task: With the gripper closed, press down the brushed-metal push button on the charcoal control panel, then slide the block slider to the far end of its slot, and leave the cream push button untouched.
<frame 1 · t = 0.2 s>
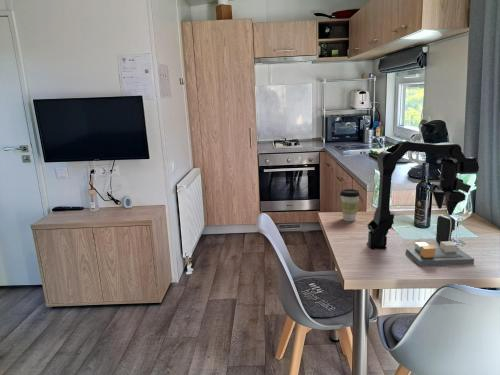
hand: (444, 211, 153), 14 cm above the table, tool pointing down, fingers open, 9 cm apart
block slider: (427, 251, 140), point 4 cm above the table, slide at 0.0 cm
cream button: (447, 247, 146), point 3 cm above the table, slide at 0.0 cm
battery charger: (444, 242, 159), on the table
coffee cup: (349, 219, 193), on the table
grey button: (422, 248, 146), point 3 cm above the table, slide at 0.0 cm
panel: (438, 258, 144), on the table
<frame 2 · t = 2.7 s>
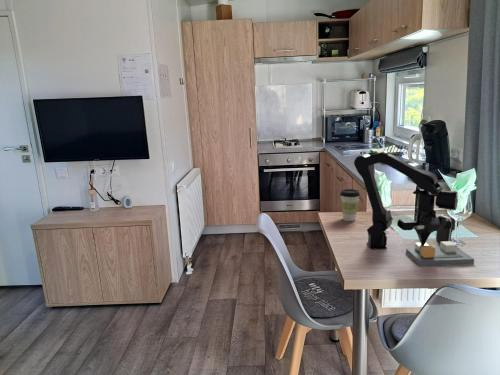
hand: (422, 244, 145), 5 cm above the table, tool pointing down, fingers closed, pressing on grey button
grey button: (422, 248, 146), point 3 cm above the table, slide at 0.2 cm, touching gripper
everything else where it was.
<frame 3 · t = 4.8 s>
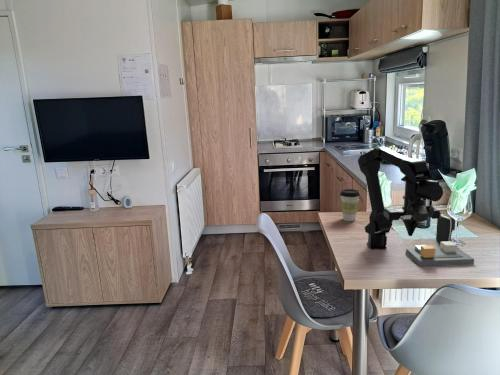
hand: (410, 235, 138), 11 cm above the table, tool pointing down, fingers closed
grey button: (422, 251, 146), point 2 cm above the table, slide at 1.2 cm
everything else where it was.
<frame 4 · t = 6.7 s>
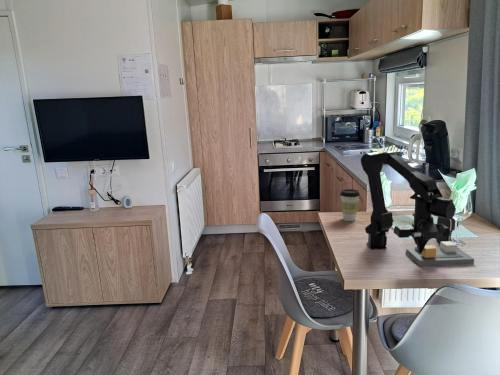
hand: (420, 252, 140), 4 cm above the table, tool pointing down, fingers closed
block slider: (428, 251, 140), point 4 cm above the table, slide at 0.4 cm, touching gripper
everything else where it was.
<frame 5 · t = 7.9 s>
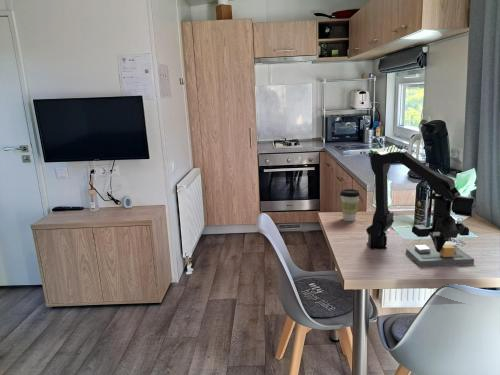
hand: (438, 251, 140), 4 cm above the table, tool pointing down, fingers closed
block slider: (446, 250, 140), point 4 cm above the table, slide at 7.3 cm, touching gripper
everything else where it was.
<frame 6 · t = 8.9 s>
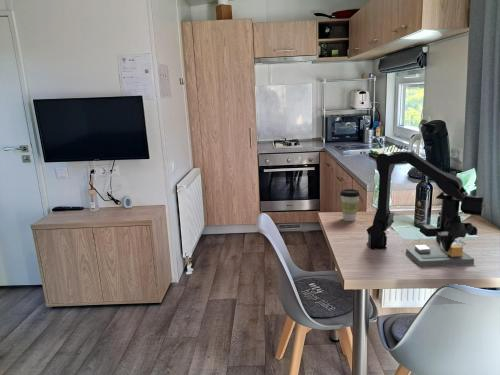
hand: (446, 251, 140), 4 cm above the table, tool pointing down, fingers closed
block slider: (454, 250, 140), point 4 cm above the table, slide at 10.2 cm, touching gripper
everything else where it was.
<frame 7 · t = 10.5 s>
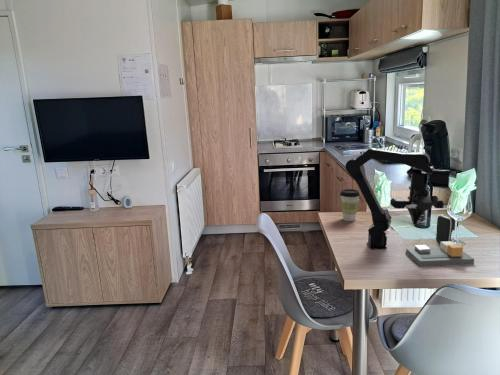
hand: (414, 223, 148), 12 cm above the table, tool pointing down, fingers closed
block slider: (454, 250, 140), point 4 cm above the table, slide at 10.3 cm
everything else where it was.
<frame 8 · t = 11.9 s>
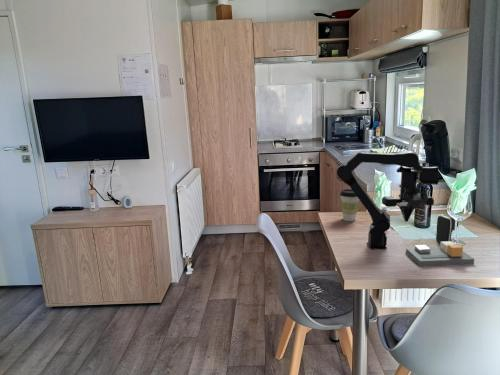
hand: (406, 221, 150), 12 cm above the table, tool pointing down, fingers closed
nothing on the table moved.
at the end: grey button slide at 1.2 cm; block slider slide at 10.3 cm; cream button slide at 0.0 cm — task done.
